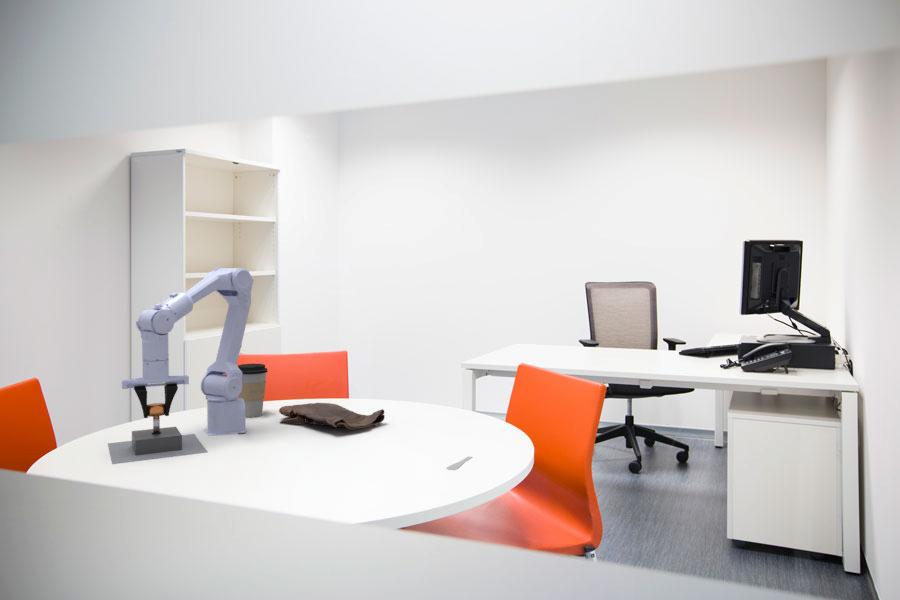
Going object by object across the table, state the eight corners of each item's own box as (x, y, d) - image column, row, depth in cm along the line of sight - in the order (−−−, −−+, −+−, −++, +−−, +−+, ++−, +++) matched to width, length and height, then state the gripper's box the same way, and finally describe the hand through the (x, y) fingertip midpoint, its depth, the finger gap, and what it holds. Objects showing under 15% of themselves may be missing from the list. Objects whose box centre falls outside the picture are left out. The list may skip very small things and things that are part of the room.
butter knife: (442, 468, 143) (454, 470, 142) (485, 443, 165) (496, 444, 164) (442, 470, 143) (454, 472, 142) (485, 444, 165) (496, 446, 164)
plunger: (164, 431, 160) (164, 402, 160) (166, 434, 156) (166, 405, 156) (146, 433, 158) (146, 404, 158) (148, 436, 154) (147, 406, 154)
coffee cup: (258, 419, 190) (258, 368, 190) (228, 417, 192) (228, 367, 192) (273, 412, 200) (273, 363, 199) (245, 411, 202) (244, 362, 201)
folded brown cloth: (267, 421, 190) (267, 404, 189) (323, 410, 205) (323, 394, 204) (335, 440, 169) (335, 421, 168) (392, 426, 184) (392, 409, 183)
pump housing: (176, 440, 164) (176, 426, 164) (182, 449, 155) (181, 435, 155) (131, 445, 159) (131, 431, 159) (135, 455, 150) (135, 440, 150)
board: (194, 435, 171) (194, 433, 171) (207, 454, 154) (207, 452, 154) (107, 445, 161) (107, 443, 161) (112, 466, 144) (112, 464, 144)
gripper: (185, 356, 164) (185, 410, 164) (120, 359, 156) (121, 416, 157) (189, 359, 157) (190, 415, 158) (122, 363, 150) (123, 422, 151)
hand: (156, 416), depth 157 cm, fingers closed on plunger, 4 cm apart
